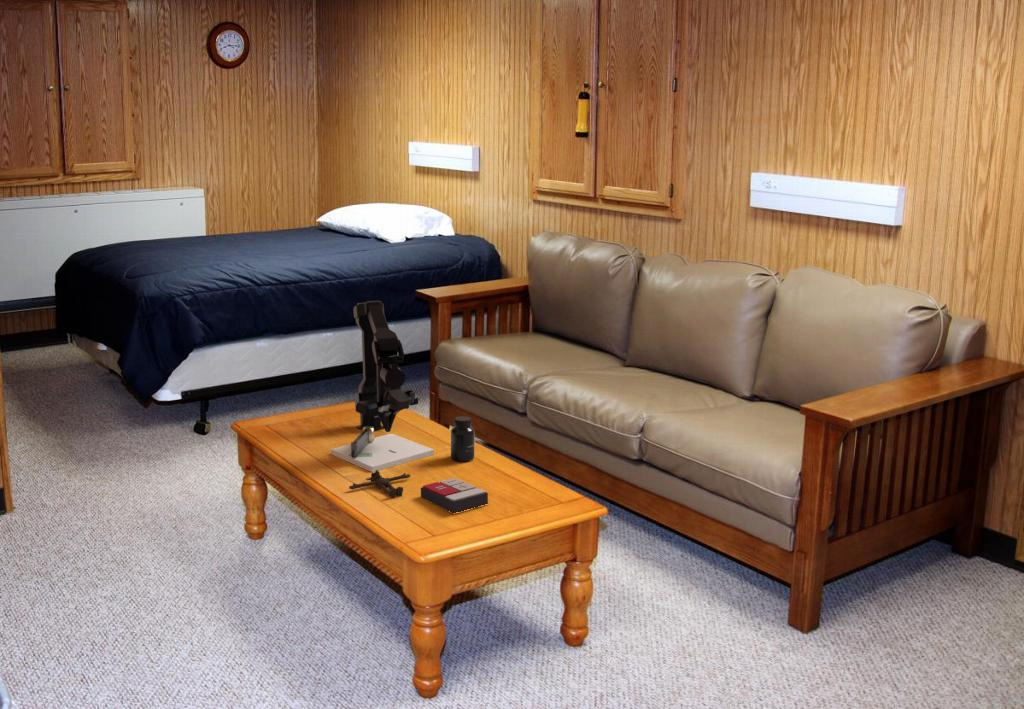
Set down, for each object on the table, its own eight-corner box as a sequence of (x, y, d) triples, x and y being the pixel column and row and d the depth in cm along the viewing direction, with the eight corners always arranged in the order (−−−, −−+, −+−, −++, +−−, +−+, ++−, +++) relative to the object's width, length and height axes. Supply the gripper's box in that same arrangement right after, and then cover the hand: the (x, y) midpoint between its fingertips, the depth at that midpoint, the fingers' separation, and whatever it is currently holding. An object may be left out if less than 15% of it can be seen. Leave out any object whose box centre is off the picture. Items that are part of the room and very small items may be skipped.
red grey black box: (454, 476, 286) (488, 489, 275) (454, 491, 287) (488, 505, 276) (419, 484, 280) (453, 499, 268) (420, 500, 281) (453, 515, 269)
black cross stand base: (365, 494, 274) (341, 472, 286) (365, 509, 276) (341, 486, 287) (428, 481, 284) (402, 460, 295) (427, 496, 285) (402, 474, 297)
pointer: (364, 438, 320) (364, 425, 319) (375, 439, 319) (375, 426, 318) (348, 456, 304) (347, 443, 303) (359, 457, 303) (358, 444, 302)
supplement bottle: (473, 462, 306) (474, 422, 303) (449, 462, 306) (449, 422, 303) (475, 454, 313) (475, 415, 310) (451, 454, 313) (451, 414, 310)
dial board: (330, 454, 312) (330, 448, 311) (391, 438, 326) (391, 433, 326) (372, 472, 298) (372, 466, 297) (434, 454, 312) (433, 449, 312)
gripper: (377, 391, 296) (378, 445, 300) (430, 379, 309) (430, 431, 312) (353, 383, 304) (355, 435, 308) (406, 371, 316) (406, 422, 320)
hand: (387, 431), depth 312 cm, fingers closed
